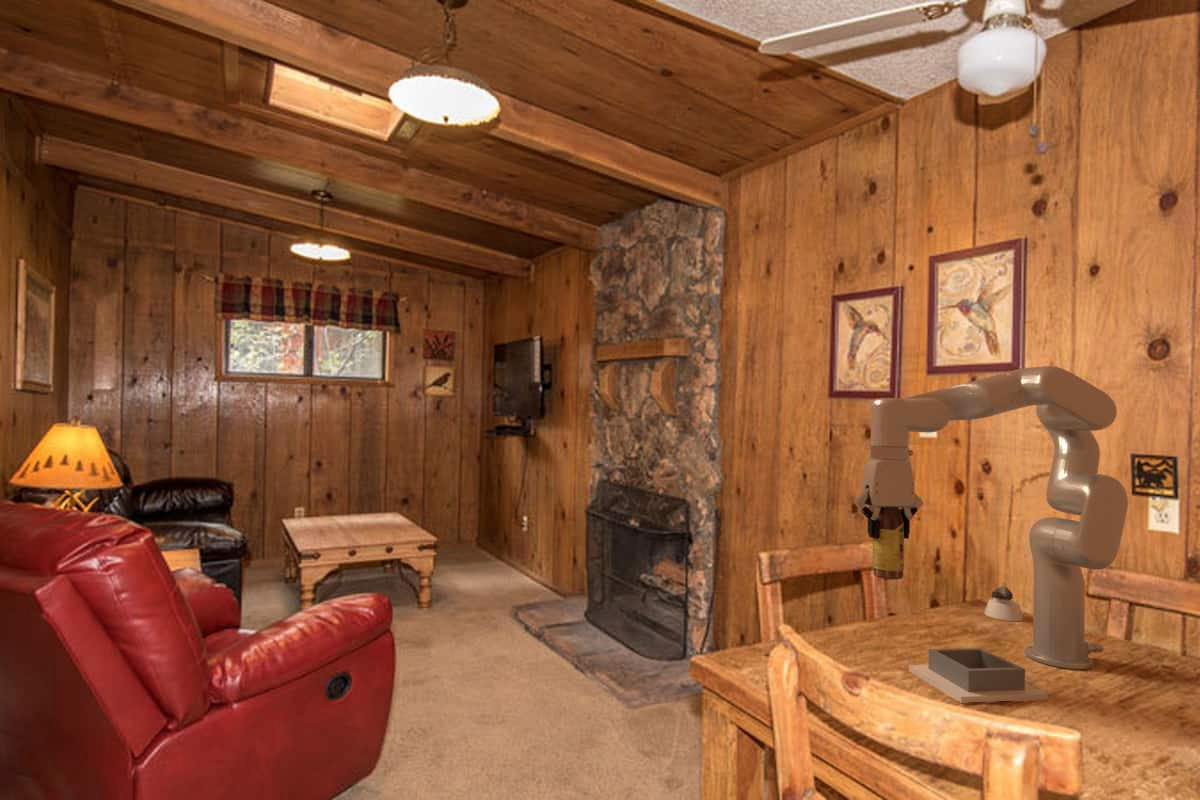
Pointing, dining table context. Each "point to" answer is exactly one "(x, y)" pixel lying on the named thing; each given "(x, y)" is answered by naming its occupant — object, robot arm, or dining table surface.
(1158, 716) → the dining table surface
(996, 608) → the inkwell
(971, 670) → the bottle stand
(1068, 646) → the robot arm
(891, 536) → the sauce bottle
